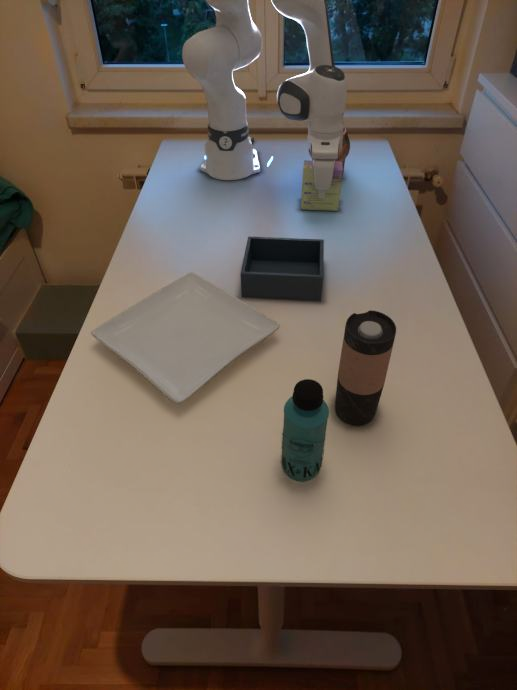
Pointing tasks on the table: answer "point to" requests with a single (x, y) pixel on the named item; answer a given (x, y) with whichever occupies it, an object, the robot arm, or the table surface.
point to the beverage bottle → (304, 431)
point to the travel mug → (363, 366)
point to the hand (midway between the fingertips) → (321, 189)
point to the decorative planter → (342, 149)
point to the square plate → (185, 334)
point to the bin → (283, 269)
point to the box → (311, 193)
